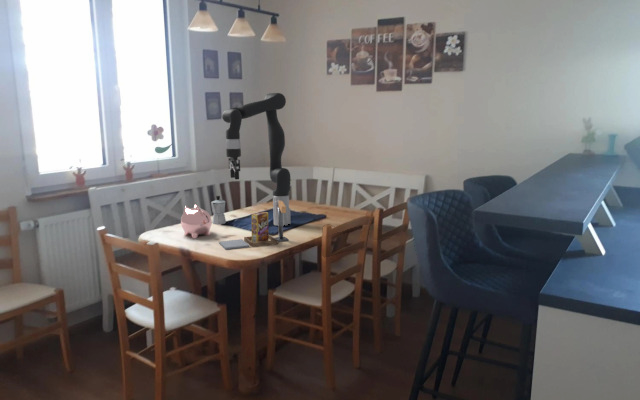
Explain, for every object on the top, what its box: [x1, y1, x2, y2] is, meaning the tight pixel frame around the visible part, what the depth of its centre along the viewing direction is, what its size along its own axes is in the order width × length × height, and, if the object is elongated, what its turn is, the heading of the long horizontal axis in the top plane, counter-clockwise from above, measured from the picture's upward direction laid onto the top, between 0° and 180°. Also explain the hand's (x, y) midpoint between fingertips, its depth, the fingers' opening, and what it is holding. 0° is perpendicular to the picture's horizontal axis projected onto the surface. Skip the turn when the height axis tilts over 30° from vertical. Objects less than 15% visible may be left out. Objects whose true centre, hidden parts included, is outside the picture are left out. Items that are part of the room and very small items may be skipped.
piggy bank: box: [180, 204, 213, 239], centre depth 275 cm, size 15×18×16 cm
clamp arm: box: [277, 200, 286, 213], centre depth 252 cm, size 21×3×3 cm, turn 10°
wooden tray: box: [243, 234, 279, 248], centre depth 259 cm, size 14×14×2 cm
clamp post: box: [274, 207, 289, 243], centre depth 262 cm, size 6×6×18 cm
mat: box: [218, 238, 250, 251], centre depth 254 cm, size 12×14×1 cm
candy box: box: [251, 211, 269, 242], centre depth 258 cm, size 9×4×15 cm, turn 145°
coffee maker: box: [210, 195, 227, 225], centre depth 301 cm, size 15×9×18 cm, turn 161°
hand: (234, 178), depth 267 cm, fingers open, 8 cm apart
